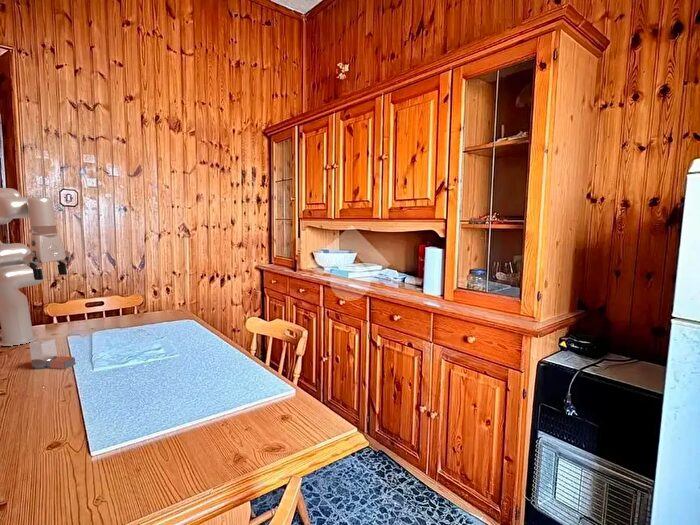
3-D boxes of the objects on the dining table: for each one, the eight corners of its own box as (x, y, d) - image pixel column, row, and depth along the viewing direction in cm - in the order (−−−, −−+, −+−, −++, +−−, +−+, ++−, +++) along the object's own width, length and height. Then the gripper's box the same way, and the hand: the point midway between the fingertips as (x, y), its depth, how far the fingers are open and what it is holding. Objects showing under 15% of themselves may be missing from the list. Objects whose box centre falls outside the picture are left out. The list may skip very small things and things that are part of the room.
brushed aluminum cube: (31, 360, 136) (28, 343, 135) (45, 354, 141) (42, 338, 140) (43, 360, 135) (41, 343, 134) (57, 355, 140) (54, 338, 139)
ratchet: (79, 362, 140) (76, 345, 139) (61, 371, 133) (58, 352, 132) (46, 360, 143) (43, 343, 142) (27, 368, 136) (24, 351, 135)
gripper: (29, 233, 138) (37, 281, 140) (73, 229, 154) (79, 273, 157) (12, 233, 139) (19, 281, 142) (57, 229, 156) (63, 273, 159)
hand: (51, 277), depth 149 cm, fingers open, 9 cm apart
